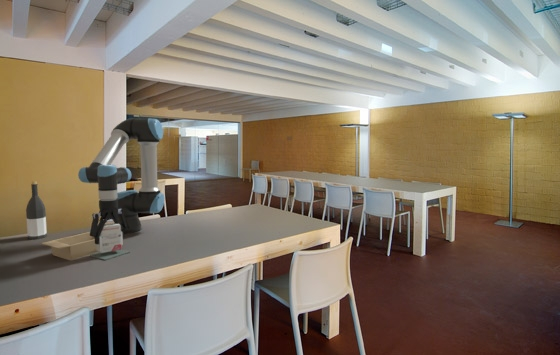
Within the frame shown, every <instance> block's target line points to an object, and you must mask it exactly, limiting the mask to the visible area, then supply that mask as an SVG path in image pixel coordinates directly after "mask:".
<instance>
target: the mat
mask: <svg viewBox="0 0 560 355" xmlns="http://www.w3.org/2000/svg"><path fill="white" fill-rule="evenodd" d="M129 253H131V252H130V251H129V250H124V249H121V250H115V251H110V252H105V253H101V252H98V253H95V254H91V255H89V256H90V257H93V258H97V259H99V260H101V261H109V260H111V259H113V258H114V259H115V258H118V257H120V256H123V255H127V254H129Z"/></svg>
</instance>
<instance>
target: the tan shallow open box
mask: <svg viewBox="0 0 560 355" xmlns="http://www.w3.org/2000/svg"><path fill="white" fill-rule="evenodd" d="M41 245H44V246H48V247H51V255H52V256H54V257H58V258H61V259H64V260H67V261H74V260H77V259H80V258H84V257H87V256H90V255H92V254H95V253H99V252H100V251H97V244H95V238H94V237H92V236H90V231H88V232H82V233H79V234H78V233H77V234H75V235H70V236H64V237H61V238H58V239H53V240H49V241H45V242H41Z"/></svg>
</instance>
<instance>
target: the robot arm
mask: <svg viewBox="0 0 560 355" xmlns="http://www.w3.org/2000/svg"><path fill="white" fill-rule="evenodd" d="M163 136H164V128H163V126H162V123H161V121H159V119H157V118H134V117H133V118H132V117H131V118H128V119H125V120H123V121H121V122H119V123H118V124H117V125H116V126H115V127H114V128H113V129H112V130H111V132H110V137H109V138H108V139H107V141H106V142H105V143H104V145H103V146H102V148H101V149H100V151H98V153H97V155H96V157H94V159H93V160H92V162H91V163H90V164H89V166H85V167H83V166H82V167H81V168H80V169H79V171H78V179H79V181H80V182H82V183H83V184H85V183H86V184H98V185H97V186H98V208H99V212H97V213H92V214H91V216H92V221H91V222H92V223H91V226H90V231H89V232H90V236H92V237H94V238H95V244H97V251H100V252H101V251H102V237H100V234H101V232H102V230H103V227H104V225H106V223H108V221H110V220H112V221H113V224H115V223H116V224H120V225H121V246H124V245H123V244H124V242H123V241H124V240H123V238H124V237H125V235H124V234H130V233H135V232H138V231H139V232H140V231H141V230H142V229H143V228H142V223H141V220H140V217H139V214H140V213H141V214H158V213H160V212H161V211H162V209H163V207H164V204H165V194H164V193H163V192H161V188H159V187H158V150H157V147H158V144H160V140H162V139H163ZM130 140H137V144H138V145H140V178H141V180H140V181H141V187H140V188H139V189H138V190H137V189H130V190H123V191H118V185H119V184H120V185H121V184H125V183H127V182H128V183H129V181H131V178H132V172H131V170H130V169H129V168H128V167H123V166H121V167H117V166H116V165H115V164H112V163H113V162H114V160H115V158H116V157H117V155H118V154H119V153H120V151H121V150H122V148H123V147H124V145H125V144H127V143H128V142H129V141H130Z"/></svg>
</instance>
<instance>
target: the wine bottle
mask: <svg viewBox="0 0 560 355" xmlns="http://www.w3.org/2000/svg"><path fill="white" fill-rule="evenodd" d="M30 187H31V197H30V198H29V200H28V202H27V204H26V209H25V213H26V214H25V216H26V217H25V218H26V231H27V238H28V239H29V240H40V239H44V238H46V237H47V214H46V206H45V203H44V201H43V200H42V199H41V197H40V196H39V192H38V191H39V190H38V181H36V180H35V181H34V180H33V181H31V186H30Z"/></svg>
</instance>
